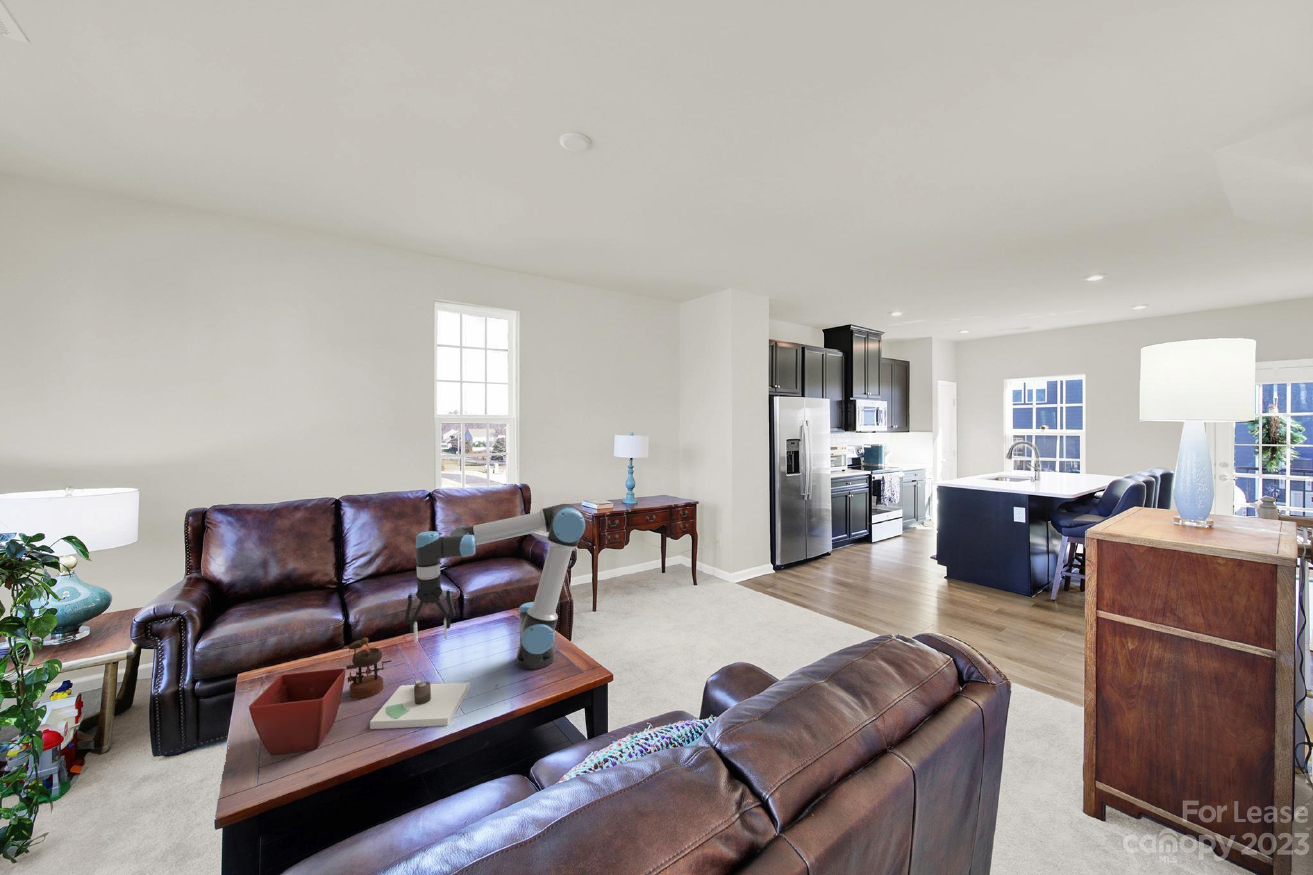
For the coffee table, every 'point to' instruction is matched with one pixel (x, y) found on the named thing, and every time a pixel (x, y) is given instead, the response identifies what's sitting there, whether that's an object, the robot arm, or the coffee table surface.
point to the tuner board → (420, 707)
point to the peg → (422, 692)
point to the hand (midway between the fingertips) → (431, 639)
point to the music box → (365, 658)
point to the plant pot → (298, 710)
